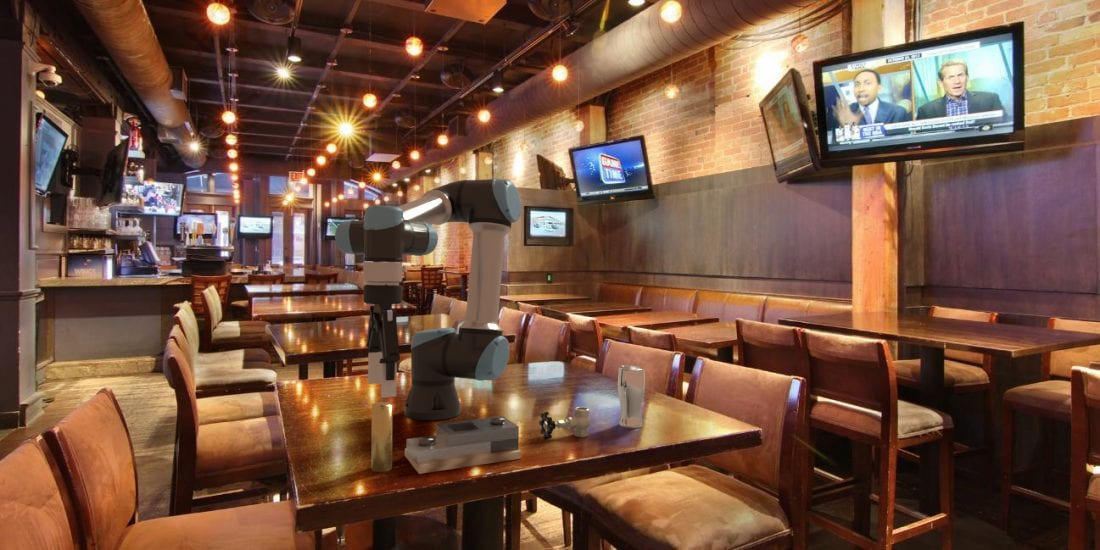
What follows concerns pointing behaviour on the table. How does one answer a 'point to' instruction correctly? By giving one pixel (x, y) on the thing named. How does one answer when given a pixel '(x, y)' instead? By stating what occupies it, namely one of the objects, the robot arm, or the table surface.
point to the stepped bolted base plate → (465, 440)
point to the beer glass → (631, 395)
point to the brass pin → (381, 437)
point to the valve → (567, 423)
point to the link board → (463, 461)
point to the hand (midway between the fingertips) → (381, 389)
